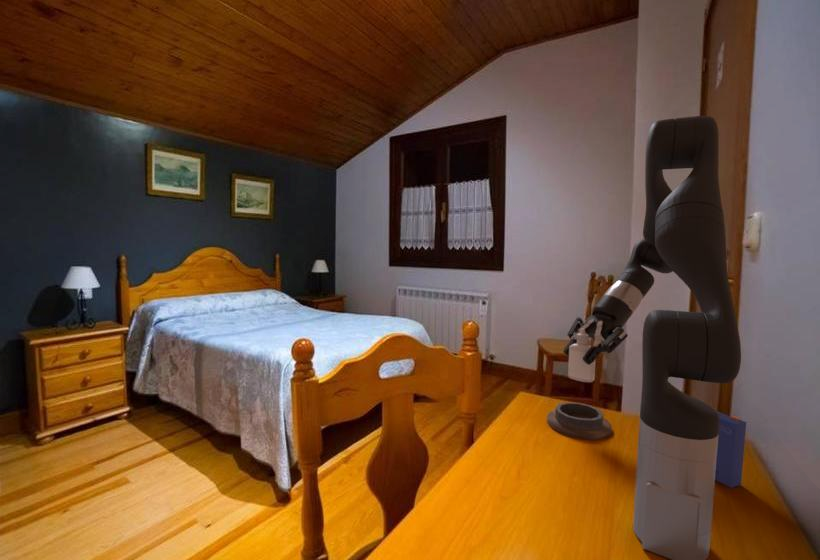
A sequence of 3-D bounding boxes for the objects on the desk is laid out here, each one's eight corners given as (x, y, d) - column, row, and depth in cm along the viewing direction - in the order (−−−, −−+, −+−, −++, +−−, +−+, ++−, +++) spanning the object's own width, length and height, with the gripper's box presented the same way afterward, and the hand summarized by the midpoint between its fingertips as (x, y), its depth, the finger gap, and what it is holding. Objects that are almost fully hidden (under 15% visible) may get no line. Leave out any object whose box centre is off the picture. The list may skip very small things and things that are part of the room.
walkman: (741, 485, 70) (746, 420, 69) (730, 488, 70) (736, 422, 68) (696, 462, 78) (700, 403, 77) (686, 464, 77) (690, 405, 76)
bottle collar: (606, 446, 84) (606, 430, 83) (539, 428, 92) (540, 413, 91) (615, 422, 95) (616, 408, 95) (555, 408, 103) (556, 395, 103)
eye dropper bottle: (582, 384, 89) (584, 331, 88) (565, 376, 94) (566, 327, 93) (597, 382, 91) (599, 330, 90) (579, 374, 96) (581, 325, 95)
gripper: (586, 290, 100) (545, 340, 97) (636, 297, 87) (591, 356, 84) (601, 310, 102) (562, 359, 99) (652, 320, 89) (609, 378, 86)
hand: (575, 358), depth 91 cm, fingers closed on eye dropper bottle, 5 cm apart
